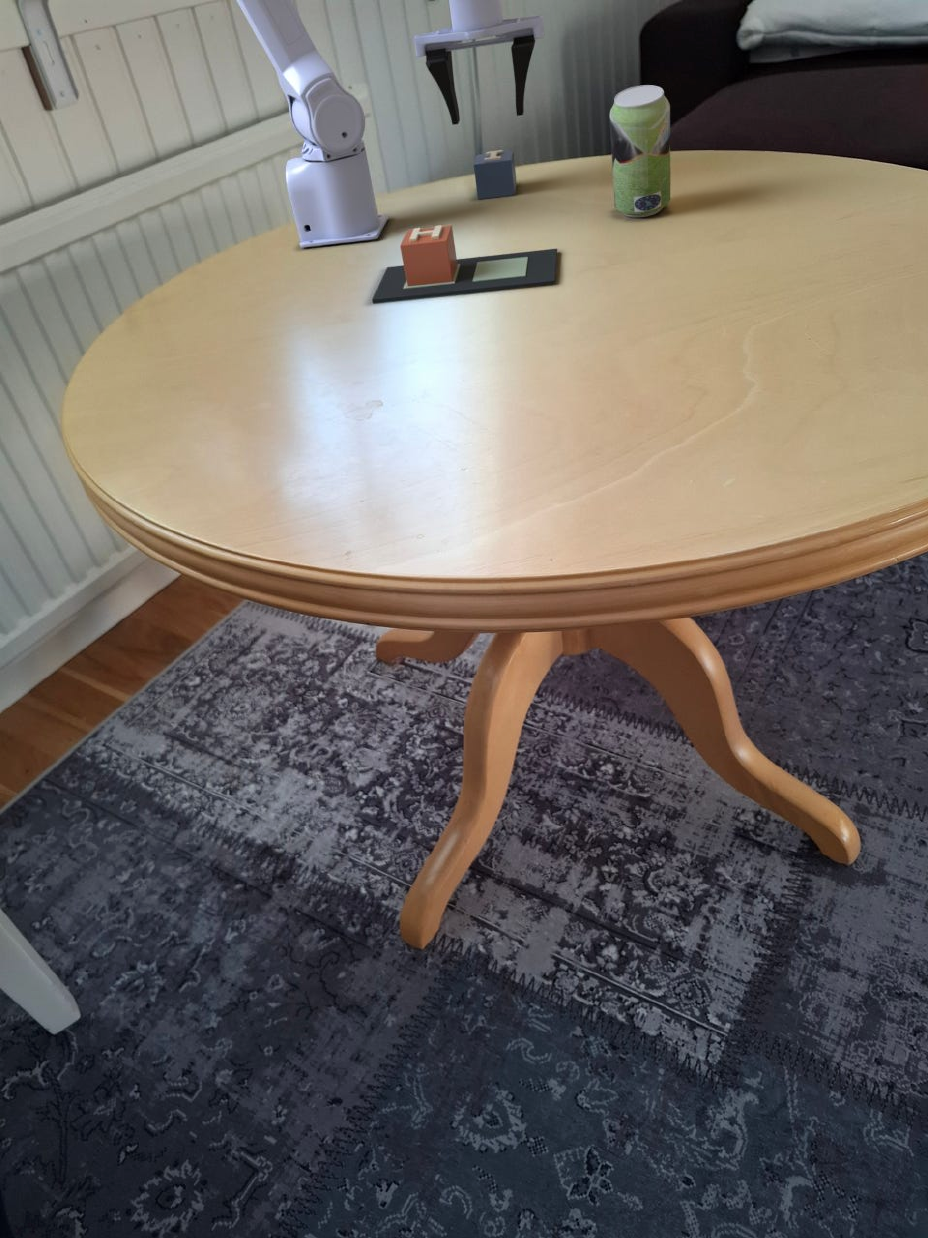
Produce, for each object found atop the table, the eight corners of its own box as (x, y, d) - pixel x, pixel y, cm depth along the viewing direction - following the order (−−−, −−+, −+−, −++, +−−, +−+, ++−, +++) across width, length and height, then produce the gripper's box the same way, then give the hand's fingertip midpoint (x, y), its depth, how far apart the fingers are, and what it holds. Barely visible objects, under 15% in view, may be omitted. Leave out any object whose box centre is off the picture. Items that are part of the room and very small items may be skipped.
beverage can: (668, 199, 99) (669, 76, 91) (673, 220, 94) (675, 91, 86) (611, 206, 100) (607, 85, 92) (613, 227, 95) (609, 100, 87)
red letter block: (407, 286, 88) (399, 242, 86) (414, 269, 92) (406, 226, 89) (452, 281, 88) (446, 236, 85) (457, 265, 91) (451, 221, 88)
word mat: (372, 303, 88) (371, 298, 87) (387, 270, 94) (386, 265, 94) (555, 284, 85) (554, 279, 84) (557, 252, 91) (556, 247, 91)
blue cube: (477, 199, 110) (473, 161, 107) (481, 188, 113) (476, 151, 110) (514, 194, 109) (511, 156, 106) (516, 184, 112) (513, 147, 110)
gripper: (401, -7, 94) (423, 134, 103) (537, -29, 92) (548, 117, 101) (411, -15, 100) (431, 120, 108) (540, -36, 97) (550, 103, 106)
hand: (488, 117), depth 105 cm, fingers open, 7 cm apart
